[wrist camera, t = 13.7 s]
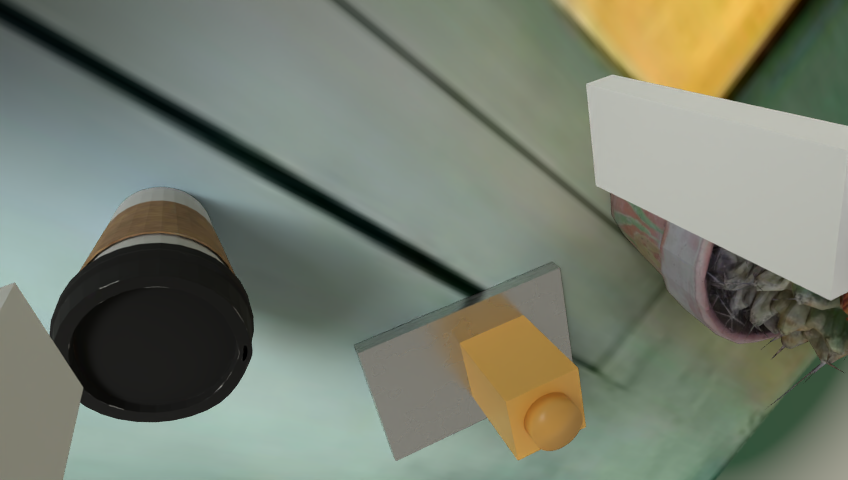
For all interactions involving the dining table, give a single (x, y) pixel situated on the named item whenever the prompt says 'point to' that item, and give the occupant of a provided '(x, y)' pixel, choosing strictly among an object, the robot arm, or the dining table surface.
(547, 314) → the plate
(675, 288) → the potted plant
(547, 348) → the orange knobbed block
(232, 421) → the dining table surface
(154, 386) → the coffee cup
